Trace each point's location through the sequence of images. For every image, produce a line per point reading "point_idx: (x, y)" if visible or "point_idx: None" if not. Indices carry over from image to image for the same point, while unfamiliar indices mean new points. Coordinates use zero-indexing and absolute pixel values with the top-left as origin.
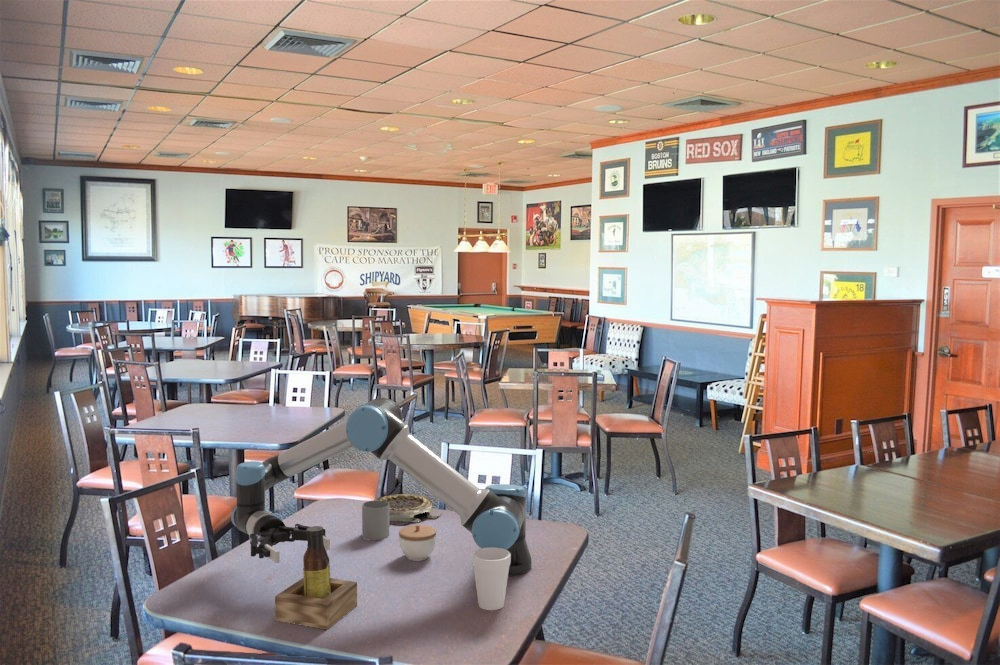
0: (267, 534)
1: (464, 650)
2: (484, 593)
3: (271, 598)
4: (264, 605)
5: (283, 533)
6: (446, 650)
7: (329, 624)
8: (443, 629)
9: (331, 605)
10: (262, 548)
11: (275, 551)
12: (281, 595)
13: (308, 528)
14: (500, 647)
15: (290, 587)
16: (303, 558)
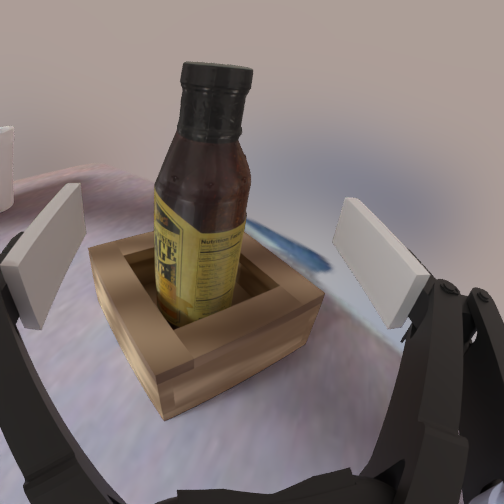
0: (457, 436)
1: (115, 174)
2: (12, 179)
3: (283, 486)
4: (317, 444)
5: (241, 495)
6: (127, 179)
7: None
8: (86, 197)
9: None
10: (430, 281)
11: (361, 202)
12: (306, 288)
13: (239, 66)
14: (89, 168)
15: (267, 317)
16: (249, 183)
